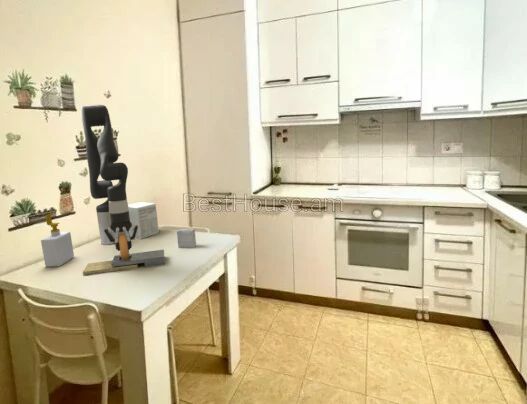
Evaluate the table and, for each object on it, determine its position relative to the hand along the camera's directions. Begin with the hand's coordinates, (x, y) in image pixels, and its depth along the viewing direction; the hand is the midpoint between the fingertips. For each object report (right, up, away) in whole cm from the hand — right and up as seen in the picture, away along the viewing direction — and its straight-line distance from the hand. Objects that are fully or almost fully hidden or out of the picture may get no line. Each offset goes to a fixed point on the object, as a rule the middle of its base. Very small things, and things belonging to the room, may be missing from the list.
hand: (124, 249), depth 148 cm
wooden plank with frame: (0, -7, +1) cm, 7 cm away
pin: (0, -4, +1) cm, 4 cm away
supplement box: (-9, +2, +49) cm, 50 cm away
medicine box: (+22, -2, +24) cm, 32 cm away
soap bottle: (-33, -7, +10) cm, 35 cm away
